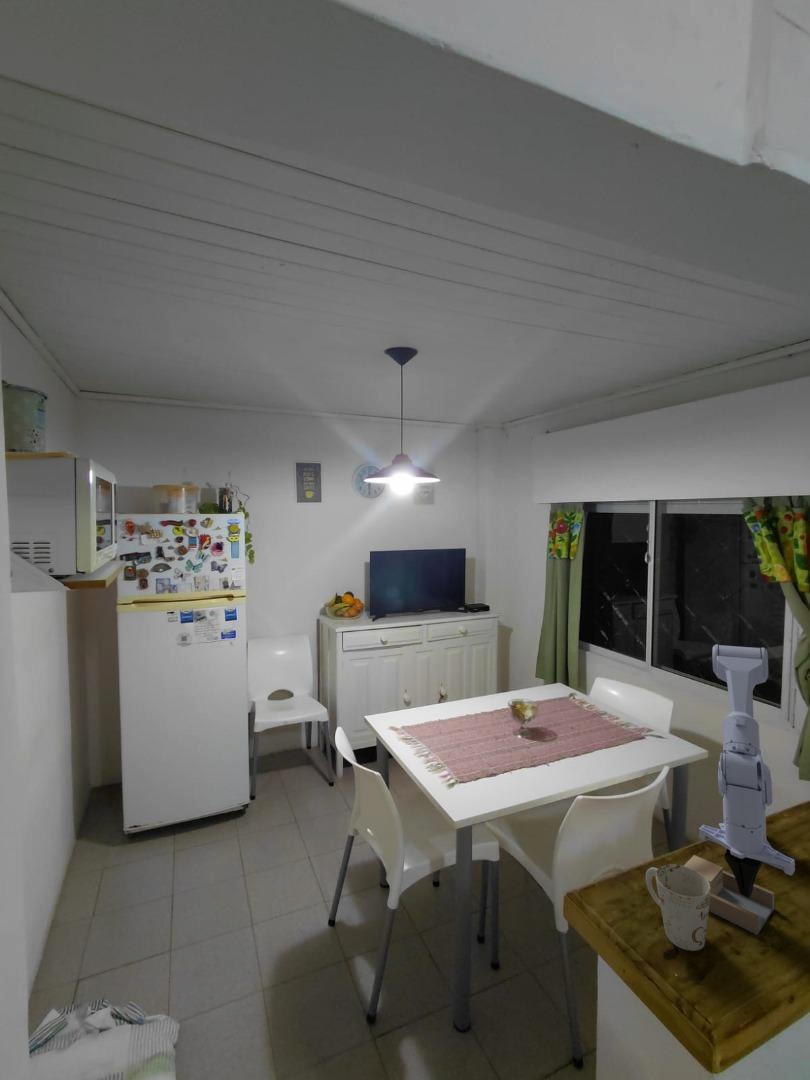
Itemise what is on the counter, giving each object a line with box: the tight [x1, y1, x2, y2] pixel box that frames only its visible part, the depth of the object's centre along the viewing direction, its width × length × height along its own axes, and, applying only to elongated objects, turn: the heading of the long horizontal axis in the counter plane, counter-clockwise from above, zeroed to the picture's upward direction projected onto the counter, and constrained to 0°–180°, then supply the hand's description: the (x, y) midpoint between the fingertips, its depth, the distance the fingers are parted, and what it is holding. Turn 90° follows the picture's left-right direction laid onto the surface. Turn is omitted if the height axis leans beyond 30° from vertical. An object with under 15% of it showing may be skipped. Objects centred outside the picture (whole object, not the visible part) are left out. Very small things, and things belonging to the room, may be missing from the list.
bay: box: [690, 856, 775, 936], centre depth 97 cm, size 14×9×3 cm, turn 39°
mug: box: [645, 863, 711, 952], centre depth 91 cm, size 8×13×10 cm, turn 22°
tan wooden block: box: [683, 854, 724, 896], centre depth 99 cm, size 5×6×4 cm
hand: (746, 893), depth 94 cm, fingers closed
